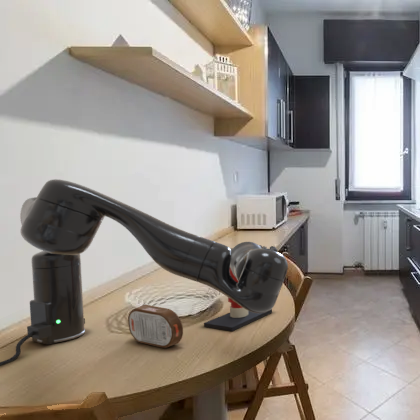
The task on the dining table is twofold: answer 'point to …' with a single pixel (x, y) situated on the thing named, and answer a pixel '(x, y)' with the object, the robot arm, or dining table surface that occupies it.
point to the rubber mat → (234, 321)
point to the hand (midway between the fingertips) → (241, 250)
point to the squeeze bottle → (236, 305)
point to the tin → (155, 326)
